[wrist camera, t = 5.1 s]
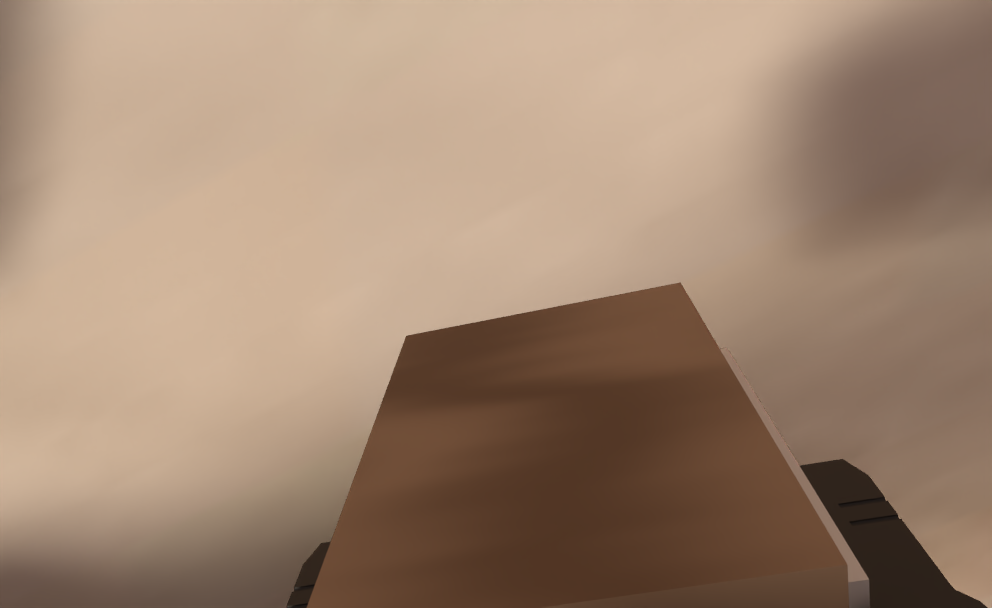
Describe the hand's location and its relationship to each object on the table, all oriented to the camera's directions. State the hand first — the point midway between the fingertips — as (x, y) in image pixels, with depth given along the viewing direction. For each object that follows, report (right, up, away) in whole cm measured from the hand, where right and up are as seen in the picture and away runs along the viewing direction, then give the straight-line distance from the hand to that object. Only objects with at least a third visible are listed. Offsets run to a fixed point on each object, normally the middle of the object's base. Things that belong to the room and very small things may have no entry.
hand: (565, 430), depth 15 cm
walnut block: (0, 0, 0) cm, 0 cm away
